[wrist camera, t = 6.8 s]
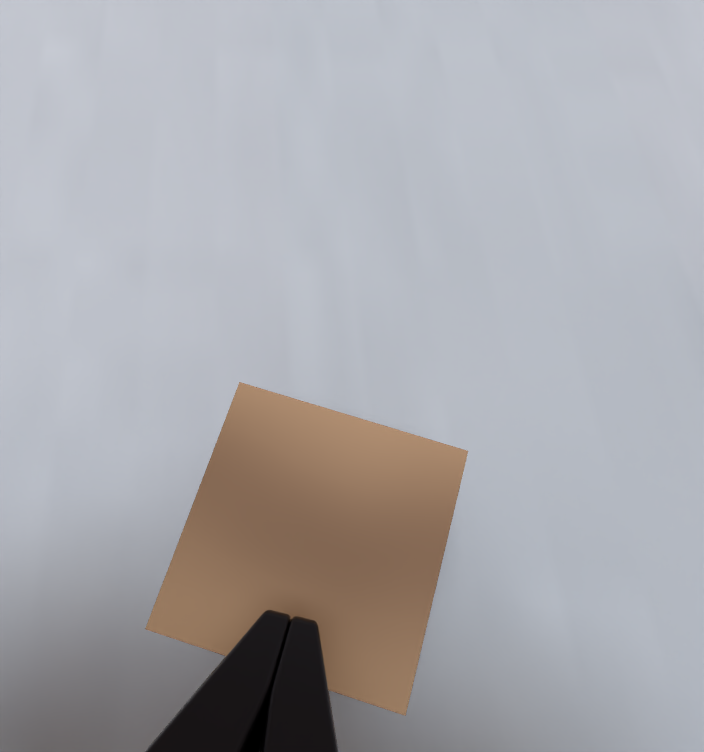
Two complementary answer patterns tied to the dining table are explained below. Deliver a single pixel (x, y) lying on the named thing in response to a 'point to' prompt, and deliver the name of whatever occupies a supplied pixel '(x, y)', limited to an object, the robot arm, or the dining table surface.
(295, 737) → the robot arm
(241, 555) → the plain block
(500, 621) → the dining table surface
